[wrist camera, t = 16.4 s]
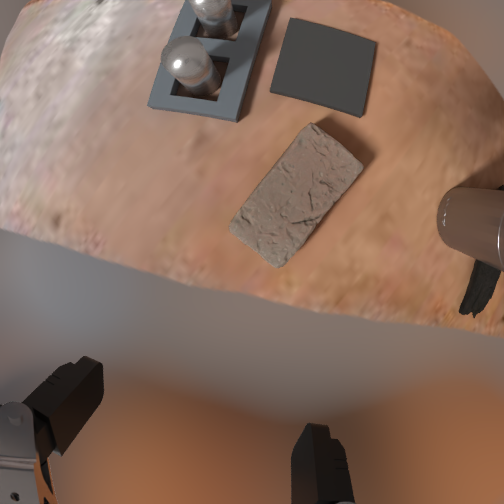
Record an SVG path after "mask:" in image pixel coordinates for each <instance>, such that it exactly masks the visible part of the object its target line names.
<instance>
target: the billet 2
mask: <svg viewBox="0 0 504 504" xmlns="http://www.w3.org/2000/svg"><path fill="white" fill-rule="evenodd" d="M161 63H162V65H163V67H164V68H165V69H166V70H167V71H168V72H169V73H170V74H171V75H173V76H174V77H175V78H176V79H177V80H178V81H179V82H180V83H181V84H182V85H183V86H184V87H185V88H187V89H188V90H189V91H190V92H191V93H192V94H193V95H196V96H200V97H203V96H208V95H210V94H212V93H214V92H215V91H216V90H217V89H218V87H219V85H220V81H221V77H220V74H219V72H218V70H217V69H216V67H215V65H214V63H213V62H212V60H211V58H210V56H209V55H208V53H207V51H206V50H205V48H204V46H203V45H202V43H201V42H200V41H199V40H198V39H197V38H195V37H192V36H181V37H178V38H175V39H173V40H172V41H170V42H169V43H168V44H167V45H166V46H165V48H164V49H163V51H162V54H161Z"/></svg>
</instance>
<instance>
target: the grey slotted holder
mask: <svg viewBox="0 0 504 504" xmlns="http://www.w3.org/2000/svg"><path fill="white" fill-rule="evenodd" d="M231 3H232V6H233V10H234V11H238V12H246V13H245V16H244V19H243V22H242V24H241V27H240V30H239V33H238V36H237V39H236V41H228V40H220V39H211V38H199V37H195V36H196V33H197V31H198V28H199V26H200V21H199V19H198V17H197V15H196V14H195V12H194V10H193V8H192V6H191V4H190V3H189V1H188V0H185V2H184V5H183V7H182V9H181V11H180V14H179V16H178V19H177V21H176V23H175V26H174V28H173V31H172V33H171V36H170V39H169V41H168V43H169V42H170V41H172V40H173V39H175V38H178V37H181V36H192V37H195V38H197V39H198V40H199V41H200V42H201V43H202V45H203V46H204V48H205V50H206V51H207V53H208V55H209V56H210V58H211V60H212V61H220V62H227V63H229V64H228V67H227V70H226V73H225V77H224V80H223V83H222V87H221V90H220V93H219V97H218V100H217V102H215V101H209V100H203V99H196V98H189V97H181V96H176V93H177V90H178V86H179V83H180V82H179V81H178V80H177V79H176V78H175V77H174V76H173V75H171V74H170V73H169V72H168V71H167V70H166V69H165V68H164V67H163V65H162V63H160V66H159V69H158V72H157V75H156V78H155V81H154V84H153V88H152V91H151V94H150V97H149V101H148V104H147V106H149V107H150V108H152V109H158V110H166V111H173V112H180V113H187V114H193V115H200V116H205V117H211V118H217V119H222V120H227V121H232V122H238V119H239V115H240V111H241V108H242V104H243V101H244V97H245V93H246V90H247V86H248V83H249V79H250V76H251V73H252V69H253V66H254V62H255V59H256V56H257V52H258V49H259V46H260V43H261V39H262V36H263V33H264V30H265V27H266V24H267V20H268V17H269V14H270V11H271V8H272V0H231Z"/></svg>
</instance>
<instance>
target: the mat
mask: <svg viewBox="0 0 504 504" xmlns="http://www.w3.org/2000/svg"><path fill="white" fill-rule="evenodd" d="M375 43H376V42H373V41H370V40H367V39H365V38H362V37H359V36H356V35H353V34H350V33H347V32H344V31H340V30H337V29H334V28H330V27H327V26H323V25H319V24H315V23H311V22H307V21H303V20H299V19H294V18H290V20H289V23H288V27H287V30H286V34H285V37H284V41H283V44H282V48H281V51H280V55H279V58H278V62H277V66H276V69H275V73H274V76H273V80H272V84H271V87H270V93H275V94H279V95H283V96H287V97H292V98H295V99H299V100H303V101H307V102H310V103H314V104H318V105H321V106H324V107H328V108H331V109H334V110H337V111H341V112H344V113H347V114H350V115H353V116H356V117H359V118H360V117H362V114H363V109H364V104H365V99H366V94H367V89H368V84H369V78H370V73H371V67H372V61H373V56H374V49H375Z"/></svg>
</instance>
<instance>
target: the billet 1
mask: <svg viewBox="0 0 504 504" xmlns="http://www.w3.org/2000/svg"><path fill="white" fill-rule="evenodd" d="M188 1H189V3H190V4H191V6H192V8H193V10H194V12H195V14H196V15H197V17H198V19H199V21H200V23H201V25H202V27H203V28H204V30H205V32H206V34H207V35H208V36H209V37H210V38H212V39H220V40H221V39H226V38H228V37H230V36H232V35H233V34H234V33H235V32H236V30H237V27H238V23H237V20H236V16H235V13H234V10H233V6H232V3H231V0H188Z"/></svg>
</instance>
